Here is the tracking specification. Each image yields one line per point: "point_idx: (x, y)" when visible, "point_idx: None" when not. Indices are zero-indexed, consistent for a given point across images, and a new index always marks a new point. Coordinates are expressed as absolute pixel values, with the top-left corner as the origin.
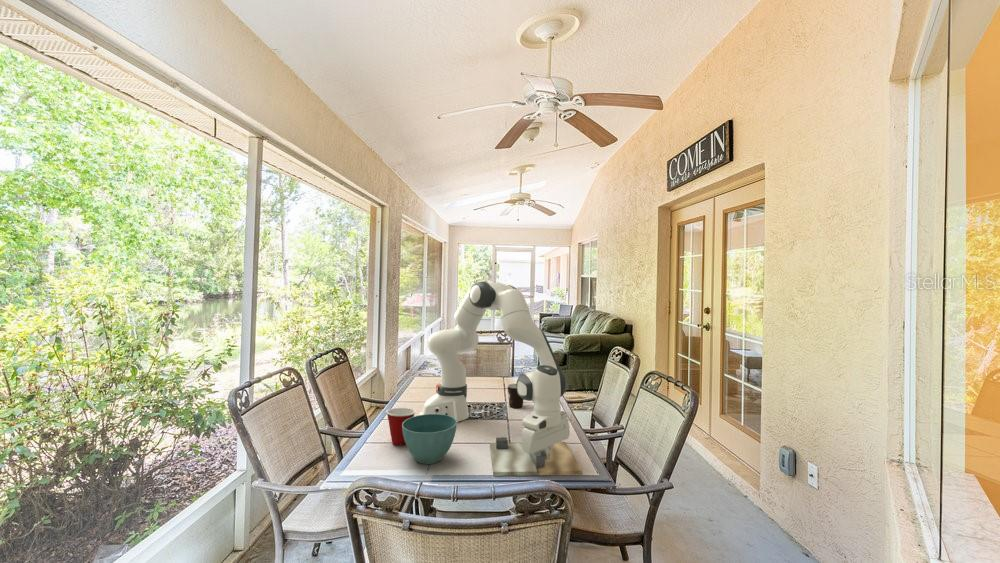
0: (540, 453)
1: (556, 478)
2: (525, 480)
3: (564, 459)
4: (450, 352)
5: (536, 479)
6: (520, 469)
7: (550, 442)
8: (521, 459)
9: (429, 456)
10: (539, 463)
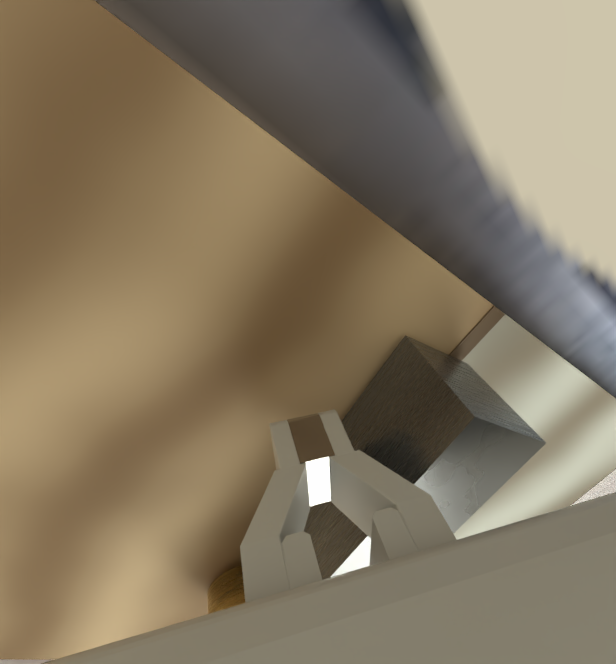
0: (449, 481)
1: (415, 130)
2: (603, 278)
3: (51, 380)
4: None
5: (547, 241)
6: (550, 395)
7: (422, 644)
8: None
9: None
10: (466, 376)
